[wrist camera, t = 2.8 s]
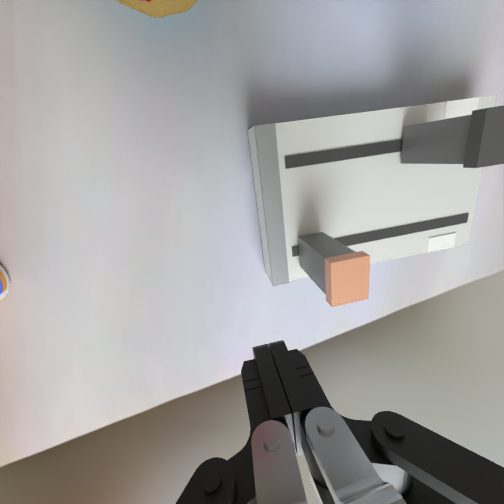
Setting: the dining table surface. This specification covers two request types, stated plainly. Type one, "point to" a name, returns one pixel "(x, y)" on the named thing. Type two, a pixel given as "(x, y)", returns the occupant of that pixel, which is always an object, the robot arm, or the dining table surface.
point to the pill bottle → (3, 282)
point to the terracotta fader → (335, 268)
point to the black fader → (457, 140)
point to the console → (359, 186)
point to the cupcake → (159, 6)
